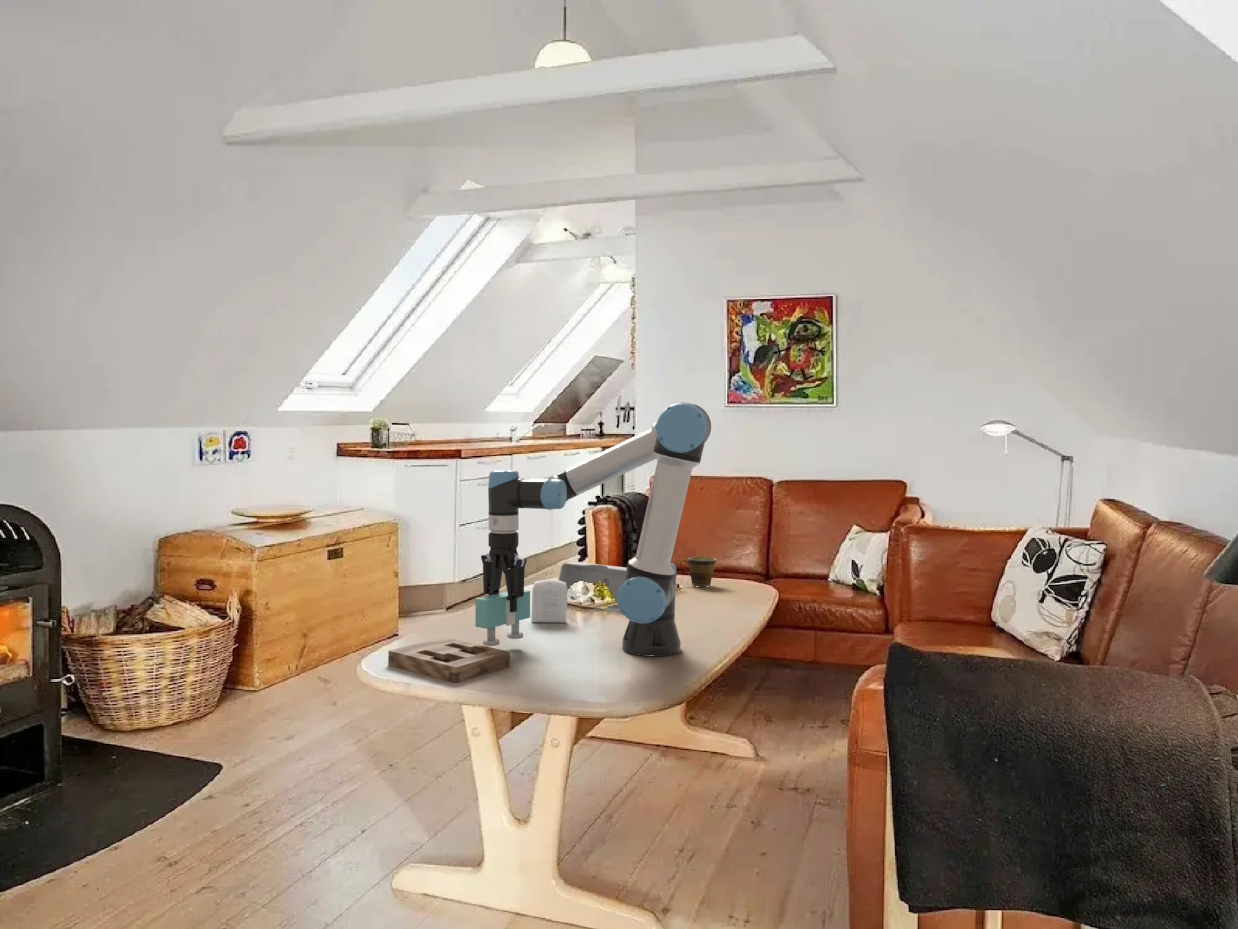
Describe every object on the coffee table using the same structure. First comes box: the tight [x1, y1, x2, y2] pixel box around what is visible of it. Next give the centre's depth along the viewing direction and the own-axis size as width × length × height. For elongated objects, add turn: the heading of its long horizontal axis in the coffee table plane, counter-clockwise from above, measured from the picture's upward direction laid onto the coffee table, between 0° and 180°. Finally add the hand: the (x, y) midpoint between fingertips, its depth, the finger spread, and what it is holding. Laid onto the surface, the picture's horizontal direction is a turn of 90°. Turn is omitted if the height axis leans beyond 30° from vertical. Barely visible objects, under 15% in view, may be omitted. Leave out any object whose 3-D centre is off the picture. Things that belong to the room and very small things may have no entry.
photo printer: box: [530, 579, 568, 624], centre depth 265 cm, size 10×4×12 cm, turn 98°
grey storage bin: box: [558, 561, 627, 613], centre depth 293 cm, size 25×16×12 cm, turn 62°
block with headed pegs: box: [474, 589, 531, 647], centre depth 230 cm, size 4×16×12 cm, turn 145°
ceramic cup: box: [679, 556, 717, 588], centre depth 329 cm, size 13×10×10 cm
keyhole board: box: [387, 636, 511, 684], centre depth 215 cm, size 22×18×4 cm
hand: (503, 623), depth 230 cm, fingers closed on block with headed pegs, 4 cm apart
